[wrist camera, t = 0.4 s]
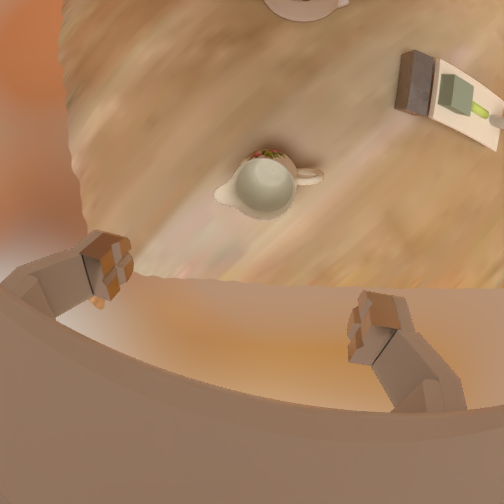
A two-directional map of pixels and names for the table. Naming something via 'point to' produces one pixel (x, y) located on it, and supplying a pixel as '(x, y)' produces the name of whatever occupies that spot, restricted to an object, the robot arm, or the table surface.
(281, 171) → the pitcher
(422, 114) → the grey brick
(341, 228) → the table surface
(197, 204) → the table surface
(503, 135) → the table surface
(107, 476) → the robot arm
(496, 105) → the plate
